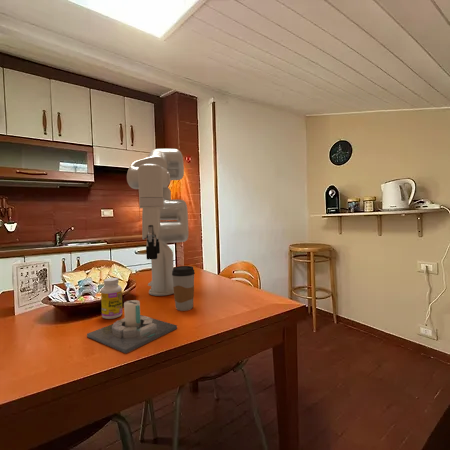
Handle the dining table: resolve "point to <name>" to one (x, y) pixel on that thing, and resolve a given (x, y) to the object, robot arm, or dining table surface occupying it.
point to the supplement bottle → (111, 299)
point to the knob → (132, 313)
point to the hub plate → (129, 342)
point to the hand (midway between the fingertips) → (153, 256)
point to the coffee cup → (183, 287)
